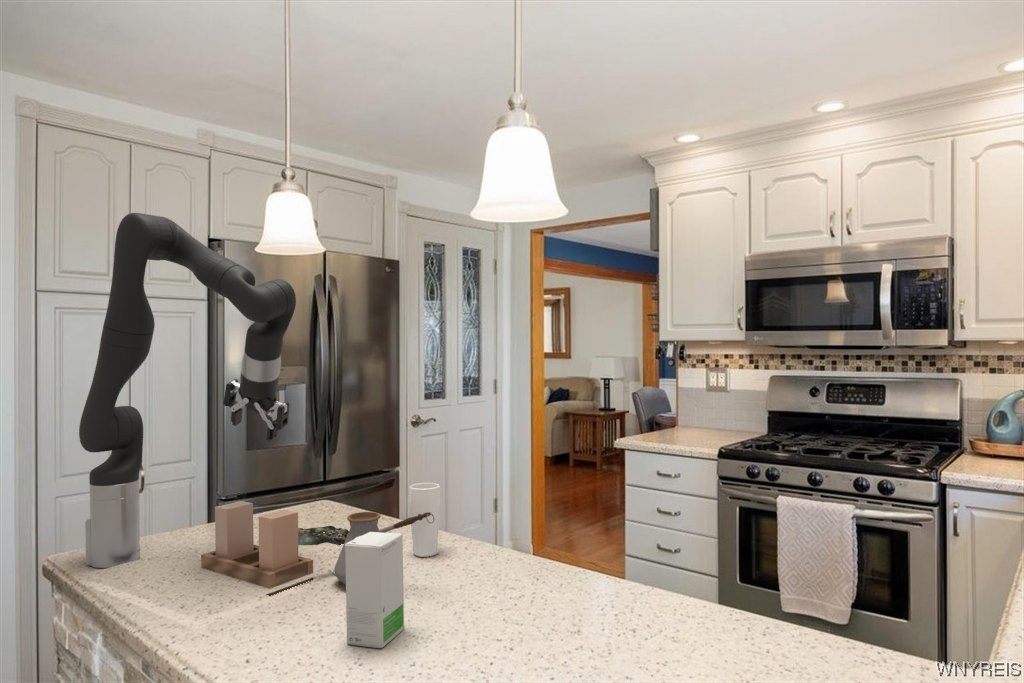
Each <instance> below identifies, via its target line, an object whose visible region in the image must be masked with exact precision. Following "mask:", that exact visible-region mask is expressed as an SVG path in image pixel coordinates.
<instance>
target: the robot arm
mask: <svg viewBox="0 0 1024 683" xmlns="http://www.w3.org/2000/svg"><path fill="white" fill-rule="evenodd" d="M113 254H114V255H113V264H112V266H113V269H112V277H111V284H110V285H111V286H110V292H109V297H108V303H107V309H106V313H105V317H104V322H103V325H102V326H103V327H102V330H101V331H102V332H101V337H100V341H99V350H98V354H97V360H96V364H95V365H96V366H95V368H94V373H93V377H92V382H91V385H90V389H89V391H88V395H87V396H86V400H85V403H84V404H85V405H84V407H83V410H82V413H81V418H80V421H79V428H78V429H79V430H78V434H79V435H78V437H79V442H80V445H81V447H82V448H83V450H85V451H87V452H88V453H104V452H109V451H111V452H110V455H109V457H108V458H107V459H106V460H105V461H103V462H102V463H101V464H99V465H97V466H96V467H94V468H93V469H91V471H90V472H89V476H88V479H89V480H88V482H89V518H88V519H86V520H85V522H84V523H85V524H84V525H85V526H84V528H85V530H84V532H85V533H84V534H85V535H84V536H85V566H90V567H93V568H95V569H96V568H98V569H107V568H108V569H109V568H112V567H117V566H120V565H124V564H127V563H130V562H131V563H132V562H134V561H138V560H140V559H141V530H140V529H141V528H140V527H141V525H140V524H141V522H140V519H141V517H140V514H141V513H140V471H141V468H142V465H143V451H144V450H143V447H144V446H143V444H144V423H143V422H144V421H143V418H142V415H141V413H140V411H139V410H138V409H137V408H136V407H134V406H131V405H120V406H116V404H117V401H118V398H119V395H120V393H121V391H122V389H123V388H124V386H125V385H126V383H127V382H128V381H129V380H130V379H131V378H132V376H133V375H135V373H136V372H137V371H138V370H139V368H140V367H141V366H142V365H143V364H144V362H145V360H146V359H147V357H148V355H149V354H150V351H151V350H150V349H151V347H152V342H153V336H154V331H155V318H154V314H153V311H152V308H151V304H150V302H149V300H148V297H147V294H146V291H145V274H146V268H147V264H148V261H156V262H157V261H166V262H167V261H168V262H171V263H174V264H177V265H179V266H182V267H184V268H186V269H188V270H190V271H191V273H193V275H194V277H195V278H196V279H197V280H198V281H199V282H200V283H201V285H203V286H205V287H206V288H208V289H209V290H211V291H213V292H214V293H217V294H218V295H220V296H221V297H224V298H226V299H228V301H229V302H230V303H231V304H232V305H233V306H234V307H235V308H236V309H237V311H239V313H240V314H241V315H243V317H245V318H246V319H247V320H249V321H252V324H250V326H249V327H248V328H247V330H246V333H245V334H246V335H245V340H244V341H245V342H244V352H243V355H242V358H241V360H242V361H241V370H240V378H239V379H237V378H234V379H233V380H231V381H229V382H228V383H227V384H226V385H225V390H224V391H225V392H224V397H223V401H222V403H223V404H222V405H224V406H225V407H229V408H230V411H231V414H230V415H231V416H230V422H231V425H232V426H234V427H237V426H238V425H239V424H241V422H242V419H243V410H244V408H243V407H244V406H245V408H246V410H249V411H253V412H254V413H256V414H259V415H260V417H261V418H262V419H261V420H262V421H265V422H266V425H267V426H268V427H267V430H266V439H265V441H266V442H271V441H273V440H274V439H276V438H277V436H278V433H279V431H281V430H283V429H284V428H285V427H286V426H287V425H288V424H289V414H290V403H289V402H288V401H284V402H281V401H278V399H277V392H278V389H279V382H280V374H281V367H282V351H283V350H282V349H283V341H284V337H285V333H286V332H287V330H288V328H289V326H290V323H291V321H292V320H293V316H294V314H295V309H296V305H297V296H296V292H295V290H294V287H293V286H292V285H291V284H290V282H288V281H286V280H285V279H272V280H270V281H265V282H263V283H261V284H258V285H256V278H255V275H254V273H253V272H252V271H251V270H249V269H248V268H246V267H244V266H243V265H241V264H239V263H237V262H236V261H233V260H231V259H230V258H227V257H225V256H224V255H222V254H220V253H219V252H216V251H215V250H212V249H211V248H209V247H208V246H206V245H205V244H203V243H202V242H200V241H199V240H198V239H196V238H195V237H194V236H193V235H191V234H190V233H188V231H186V229H184V228H183V227H182V226H180V225H179V224H177V223H176V222H175V221H173V220H172V219H170V218H168V217H164V216H160V215H153V214H147V213H141V212H130V213H128V214H126V215H125V216H123V218H122V219H121V221H120V222H119V225H118V226H117V231H116V235H115V242H114V253H113ZM237 394H239V397H240V398H241V399H240V400H239V401H238V400H236V399H237ZM268 411H269V412H268ZM267 412H268V413H267Z"/></svg>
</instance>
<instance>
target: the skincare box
mask: <svg viewBox="0 0 1024 683" xmlns="http://www.w3.org/2000/svg"><path fill="white" fill-rule="evenodd" d="M403 535H404V534H403V533H399V532H385V533H381V532H369V533H366V534H364V535H362V536H359V537H356V538H355V539H354V540H352V541H350V542H348V543H346V544H345V558H346V586H345V605H346V606H345V607H346V608H345V612H346V613H345V614H346V615H345V616H346V644H347V645H351V646H358V647H366V648H374V649H382V648H384V647H385V646H386V645H387V644H388V643H390V642H391V641H392V640H393V639H394V638H395V637H397V635H399V633H401V632H402V631H403V630H404V629H405V600H404V599H405V598H404V597H405V592H404V553H403V552H404V550H403V549H404V547H403V544H404V543H403Z"/></svg>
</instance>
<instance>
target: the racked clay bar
mask: <svg viewBox="0 0 1024 683" xmlns="http://www.w3.org/2000/svg"><path fill="white" fill-rule="evenodd" d="M214 522H215V523H214V525H215V526H214V527H215V528H214V529H215V530H214V532H215V534H214V535H215V536H214V538H215V541H214V542H215V551H216V556H218V557H222V558H225V559H227V558H231V557H234V556H237V555H241V554H244V553H247V552H250V551H254V545H255V544H254V503H252V502H247V501H242V500H240V501H235V502H231V503H227V504H222V505H218V506H214Z"/></svg>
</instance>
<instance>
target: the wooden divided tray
mask: <svg viewBox="0 0 1024 683" xmlns="http://www.w3.org/2000/svg"><path fill="white" fill-rule="evenodd" d="M298 557H299V562H298V563H295V564H292V565H289V566H286V567H283V568H280V569H277V570H274V571H268V570H264V569H260V568H259V545H257V544H254V551H250V552H247V553H244V554H241V555H237V556H234V557H231V558H227V559H225V558H222V557H218V556H216V550H214V551H210V552H206V553H203V554H200V562H201V563H200V566H201V567H200V568H202V569H205V570H209V571H211V572H215V573H218V574H221V575H224V576H228V577H231V578H234V579H238V580H240V581H244V582H247V583H250V584H254V585H257V586H260V587H263V588H267V589H272V588H274V587H278V586H280V585H283V584H286V583H290V582H292V581H294V580H297V579H300V578H303V577H306V576H308V575H311V574H313V573H314V560H313V559H311V558H307V557H303V556H299V555H298ZM311 580H312V581H314V577H310V578H307V579H304V580H301V581H299V582H297V583H294V584H290V585H288V586H284V587H283V588H279V589H277V590H274V591H272V592H270V593H266V594H265V596H267V595H269V596H268V597H272V596H275V595H278V594H280V593H283V592H285V591H284V590H286V591H288V590H290V588H291V589H293V588H292V587H294V588H296V587H299V586H301V585H300V584H302V585H304V584H306V582H307V583H309V582H308V581H310V582H312V581H311ZM303 583H304V584H303ZM298 585H299V586H298ZM295 586H296V587H295ZM287 589H288V590H287ZM282 591H283V592H282ZM279 592H280V593H279ZM277 593H278V594H277ZM274 594H275V595H274ZM271 595H272V596H271Z"/></svg>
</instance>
